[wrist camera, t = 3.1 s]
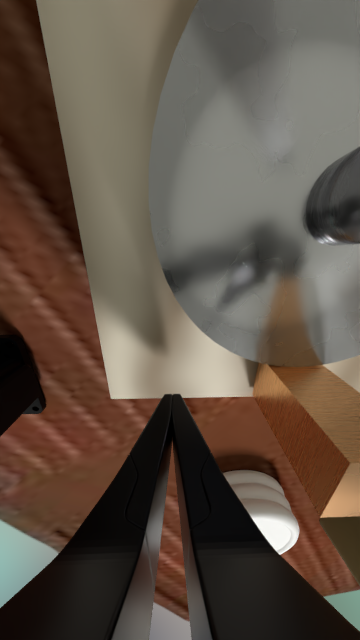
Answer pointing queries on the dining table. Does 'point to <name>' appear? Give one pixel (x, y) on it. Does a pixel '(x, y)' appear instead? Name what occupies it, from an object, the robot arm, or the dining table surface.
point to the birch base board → (131, 196)
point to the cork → (345, 540)
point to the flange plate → (271, 214)
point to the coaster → (266, 506)
